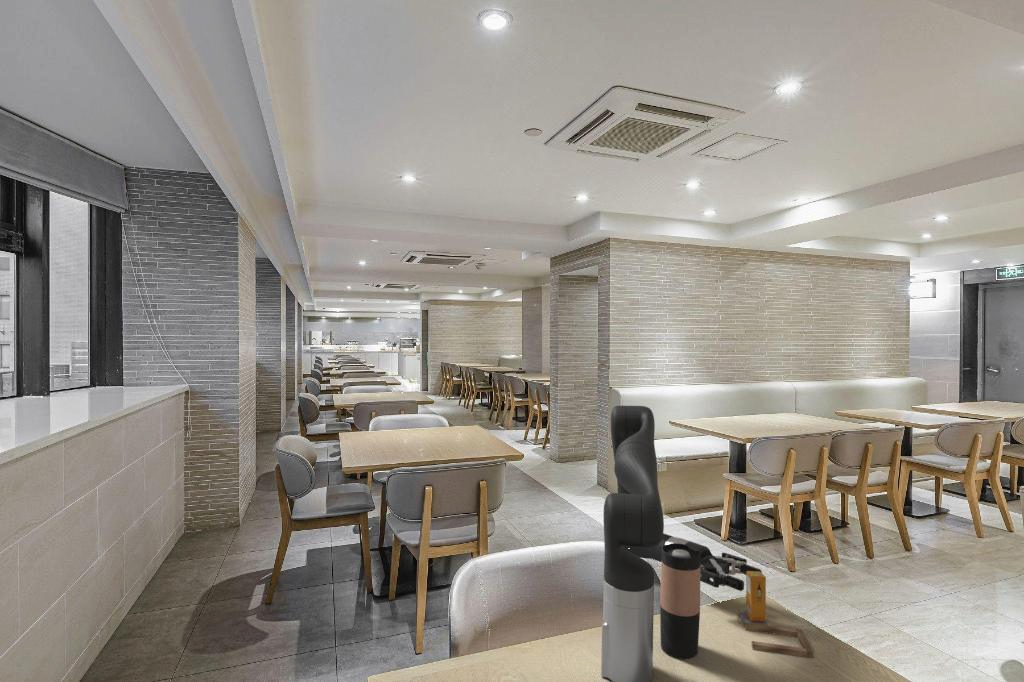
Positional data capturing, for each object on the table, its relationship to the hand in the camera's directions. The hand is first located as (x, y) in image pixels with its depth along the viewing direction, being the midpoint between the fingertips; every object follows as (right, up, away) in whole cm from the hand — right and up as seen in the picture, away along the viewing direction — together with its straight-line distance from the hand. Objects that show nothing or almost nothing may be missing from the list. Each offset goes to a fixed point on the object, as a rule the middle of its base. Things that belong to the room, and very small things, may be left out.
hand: (752, 580), depth 119 cm
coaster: (0, -9, 0) cm, 9 cm away
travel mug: (-20, -9, -11) cm, 25 cm away
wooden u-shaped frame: (+1, -9, -8) cm, 12 cm away
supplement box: (0, -8, 0) cm, 8 cm away
